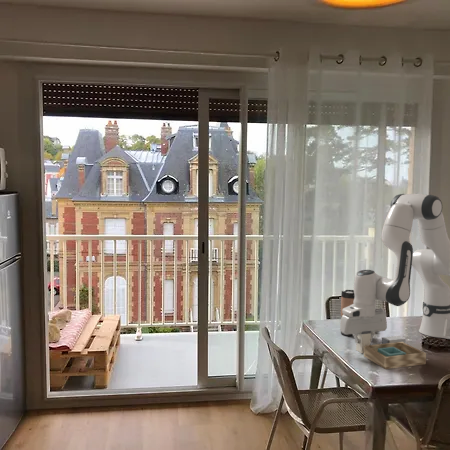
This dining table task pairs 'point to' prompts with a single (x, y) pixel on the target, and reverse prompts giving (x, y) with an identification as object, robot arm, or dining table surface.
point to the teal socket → (390, 351)
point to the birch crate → (389, 362)
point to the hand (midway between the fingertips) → (363, 342)
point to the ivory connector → (363, 340)
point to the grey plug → (393, 339)
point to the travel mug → (346, 302)
